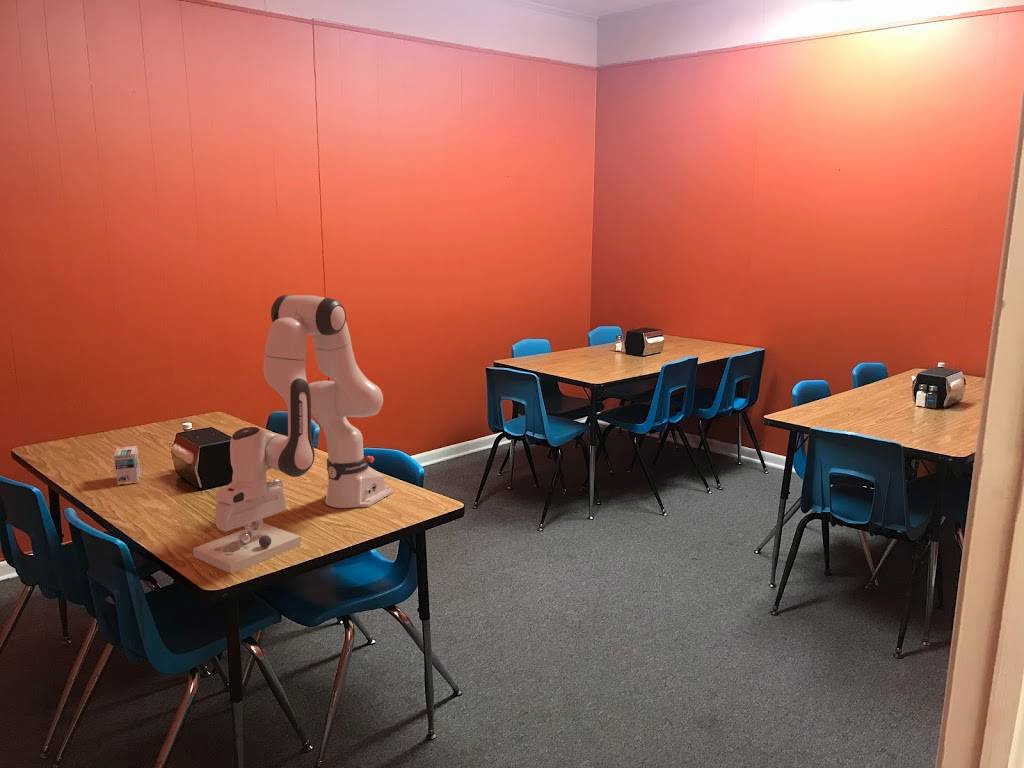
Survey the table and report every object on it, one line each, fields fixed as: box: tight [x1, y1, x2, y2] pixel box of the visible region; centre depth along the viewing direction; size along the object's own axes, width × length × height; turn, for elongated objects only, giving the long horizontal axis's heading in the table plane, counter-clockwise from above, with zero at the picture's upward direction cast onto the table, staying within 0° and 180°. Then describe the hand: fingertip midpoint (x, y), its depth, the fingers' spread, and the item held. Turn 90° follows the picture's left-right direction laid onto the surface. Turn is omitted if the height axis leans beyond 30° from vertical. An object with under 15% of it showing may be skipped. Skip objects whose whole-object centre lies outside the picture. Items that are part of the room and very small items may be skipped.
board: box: [192, 522, 302, 575], centre depth 211 cm, size 22×17×2 cm
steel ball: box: [238, 532, 250, 544], centre depth 210 cm, size 3×3×3 cm
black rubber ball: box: [259, 535, 271, 547], centre depth 207 cm, size 3×3×3 cm
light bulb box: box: [113, 445, 141, 483], centre depth 268 cm, size 11×7×11 cm, turn 22°
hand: (254, 535), depth 212 cm, fingers closed
